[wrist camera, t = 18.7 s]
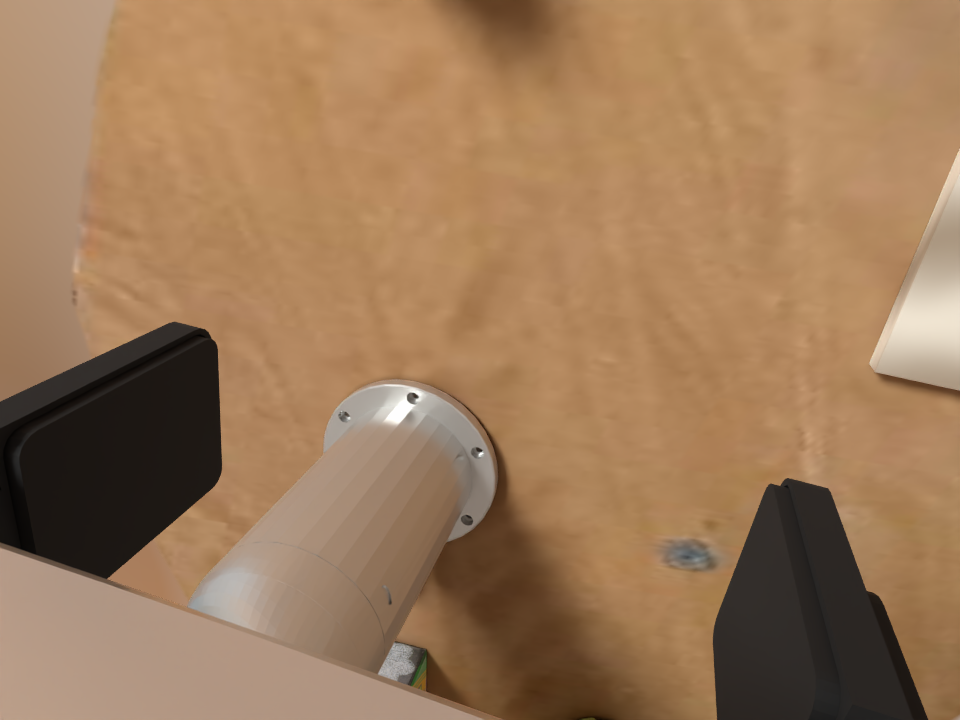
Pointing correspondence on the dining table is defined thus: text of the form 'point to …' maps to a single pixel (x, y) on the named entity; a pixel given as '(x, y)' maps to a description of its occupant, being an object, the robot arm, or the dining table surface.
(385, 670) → the chalk box
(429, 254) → the dining table surface
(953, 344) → the board
